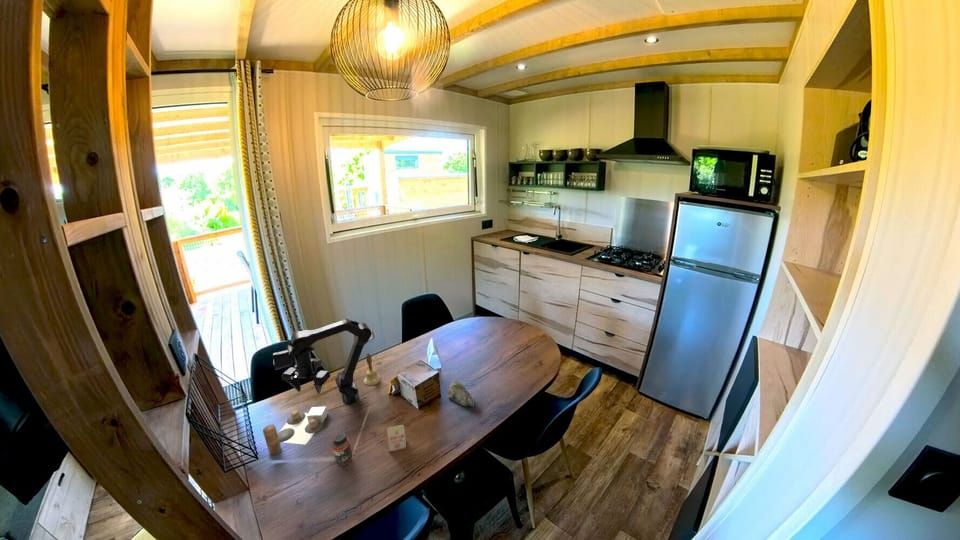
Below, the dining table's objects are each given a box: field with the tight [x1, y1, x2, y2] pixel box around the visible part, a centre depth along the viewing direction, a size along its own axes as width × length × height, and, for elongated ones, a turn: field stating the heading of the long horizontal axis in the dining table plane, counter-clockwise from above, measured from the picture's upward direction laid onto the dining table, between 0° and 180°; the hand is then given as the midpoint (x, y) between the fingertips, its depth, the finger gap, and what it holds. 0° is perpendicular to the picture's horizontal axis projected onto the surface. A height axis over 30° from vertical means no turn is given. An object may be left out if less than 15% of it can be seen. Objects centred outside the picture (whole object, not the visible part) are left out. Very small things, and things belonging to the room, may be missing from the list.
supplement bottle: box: [331, 432, 353, 467], centre depth 123 cm, size 6×6×11 cm
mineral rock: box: [447, 379, 475, 407], centre depth 152 cm, size 13×11×10 cm
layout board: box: [277, 409, 328, 446], centre depth 138 cm, size 18×16×4 cm
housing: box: [307, 406, 328, 423], centre depth 143 cm, size 6×5×4 cm
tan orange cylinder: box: [262, 424, 282, 456], centre depth 126 cm, size 4×4×12 cm
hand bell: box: [363, 352, 381, 386], centre depth 167 cm, size 8×8×16 cm
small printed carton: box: [385, 424, 407, 453], centre depth 129 cm, size 4×7×10 cm, turn 105°
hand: (309, 392), depth 142 cm, fingers open, 9 cm apart
